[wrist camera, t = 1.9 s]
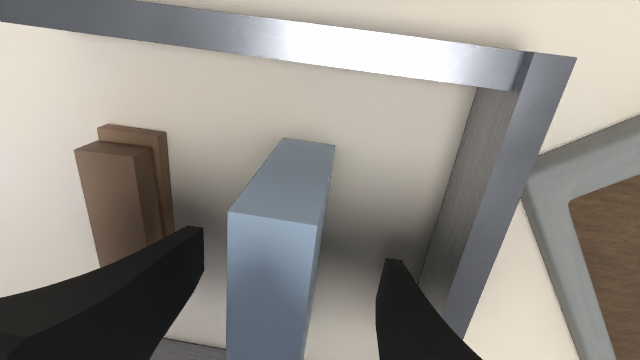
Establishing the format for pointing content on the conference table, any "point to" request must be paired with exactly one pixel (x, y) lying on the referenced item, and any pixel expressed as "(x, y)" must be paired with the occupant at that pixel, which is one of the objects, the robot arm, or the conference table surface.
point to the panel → (276, 252)
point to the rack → (386, 58)
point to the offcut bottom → (160, 162)
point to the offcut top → (120, 197)
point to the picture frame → (592, 237)
